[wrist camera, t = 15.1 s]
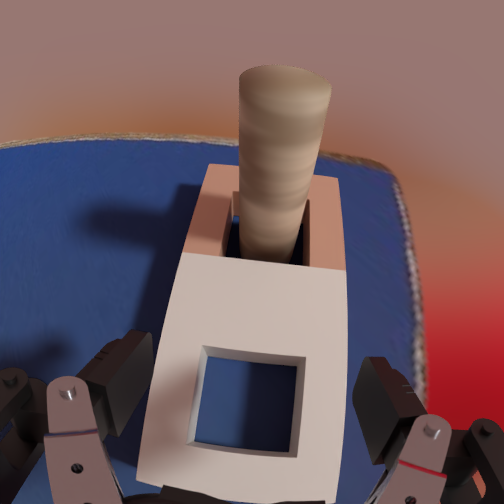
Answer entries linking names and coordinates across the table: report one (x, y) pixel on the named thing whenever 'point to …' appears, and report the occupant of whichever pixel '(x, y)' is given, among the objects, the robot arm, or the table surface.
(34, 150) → the table surface
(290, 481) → the dock board
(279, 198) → the peg
